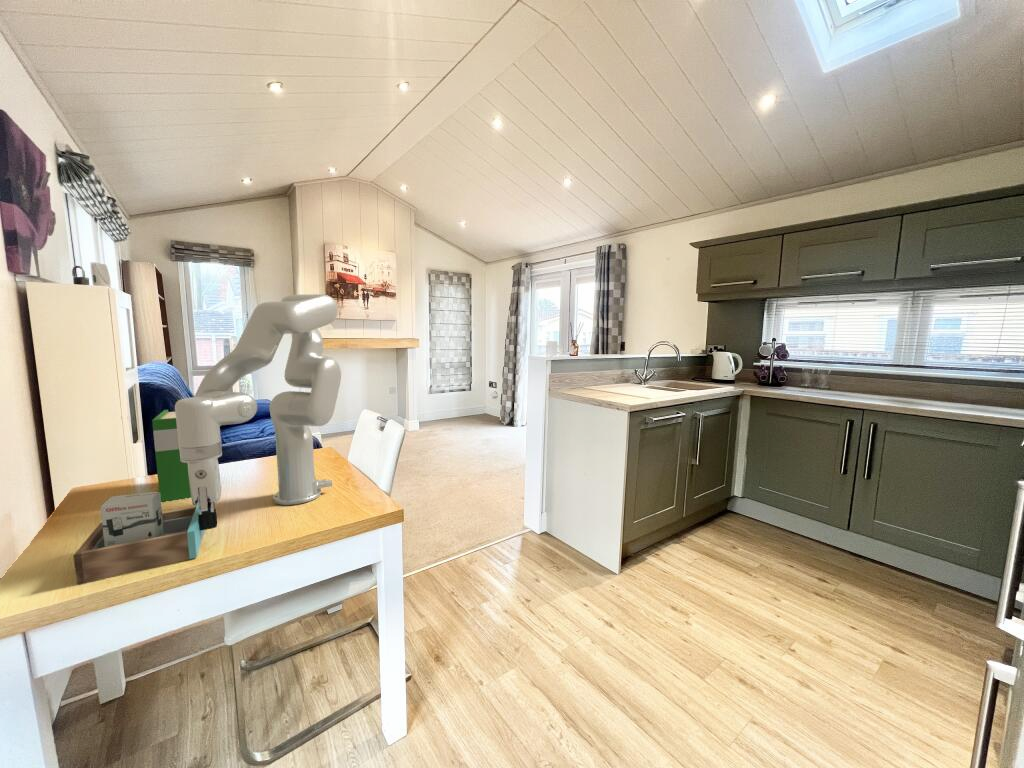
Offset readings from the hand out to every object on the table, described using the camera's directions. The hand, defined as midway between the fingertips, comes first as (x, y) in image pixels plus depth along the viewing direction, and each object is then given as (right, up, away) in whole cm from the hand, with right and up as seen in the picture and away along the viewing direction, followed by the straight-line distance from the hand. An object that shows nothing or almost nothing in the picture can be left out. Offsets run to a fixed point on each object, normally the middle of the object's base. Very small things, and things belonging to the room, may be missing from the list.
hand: (208, 527), depth 93 cm
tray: (-9, -4, -5) cm, 11 cm away
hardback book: (-31, 0, +30) cm, 43 cm away
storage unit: (-9, -4, -5) cm, 11 cm away
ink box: (-11, -3, -6) cm, 13 cm away
